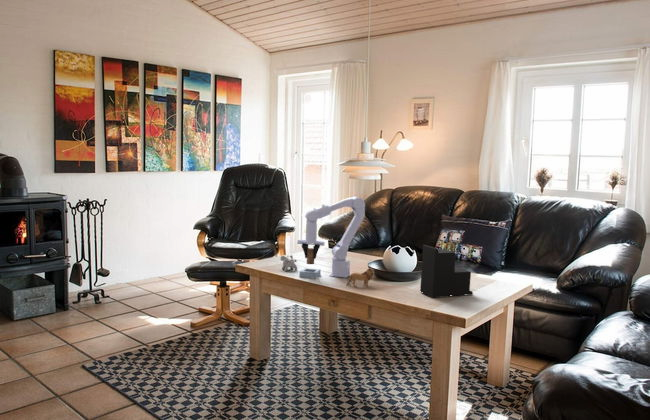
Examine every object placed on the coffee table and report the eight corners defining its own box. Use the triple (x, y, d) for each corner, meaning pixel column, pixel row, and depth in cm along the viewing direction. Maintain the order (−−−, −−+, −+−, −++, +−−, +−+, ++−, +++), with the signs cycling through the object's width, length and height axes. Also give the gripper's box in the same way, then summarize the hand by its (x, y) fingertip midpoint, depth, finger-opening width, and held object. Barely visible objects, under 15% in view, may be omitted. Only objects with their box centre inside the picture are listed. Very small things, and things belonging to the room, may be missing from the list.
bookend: (459, 289, 264) (462, 243, 262) (473, 295, 254) (476, 246, 252) (419, 292, 256) (421, 244, 253) (432, 298, 246) (434, 248, 243)
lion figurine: (371, 284, 269) (372, 267, 268) (375, 287, 264) (376, 269, 263) (344, 285, 265) (345, 267, 264) (347, 288, 260) (348, 270, 259)
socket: (320, 274, 287) (320, 269, 287) (315, 278, 278) (315, 272, 278) (304, 273, 289) (304, 268, 289) (299, 276, 281) (299, 271, 280)
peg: (314, 263, 285) (315, 248, 284) (313, 264, 281) (313, 249, 280) (307, 262, 286) (308, 247, 285) (305, 263, 282) (306, 249, 281)
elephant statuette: (287, 272, 291) (288, 259, 290) (273, 267, 300) (274, 254, 299) (300, 270, 298) (301, 257, 297) (285, 266, 306) (286, 253, 305)
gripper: (326, 232, 283) (325, 257, 285) (300, 231, 287) (299, 255, 289) (322, 234, 277) (322, 260, 278) (296, 232, 280) (295, 258, 282)
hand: (310, 258), depth 283 cm, fingers closed on peg, 4 cm apart
